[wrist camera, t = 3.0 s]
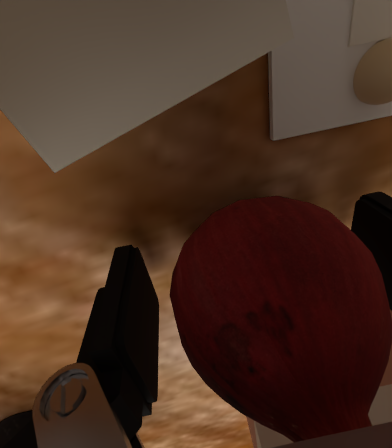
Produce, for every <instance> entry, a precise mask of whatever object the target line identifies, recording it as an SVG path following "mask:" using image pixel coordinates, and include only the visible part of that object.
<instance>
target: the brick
mask: <svg viewBox="0 0 392 448" xmlns="http://www.w3.org/2000/svg"><path fill="white" fill-rule="evenodd" d="M293 38H294V36H293V31H292V27H291V22H290V17H289V13H288V8H287V4H286V0H0V110H1V111H2V112H3V113H4V114H5V116H6V117H7V118H8V119H9V120H10V121H11V123H12V124H13V125H14V126H15V127H16V128H17V130H18V131H19V132H20V133H21V134H22V135H23V137H24V138H25V139H26V140H27V141H28V142H29V144H30V145H31V146H32V147H33V148H34V149H35V151H36V152H37V153H38V154H39V155H40V156H41V158H42V159H43V160H44V161H45V162H46V163H47V165H48V166H49V167H50V168H51V169H52V170H53V172H54V173H56V172H57V171H59V170H61V169H63V168H64V167H66V166H68V165H70V164H72V163H73V162H75V161H77V160H79V159H80V158H82V157H84V156H86V155H87V154H89V153H91V152H93V151H95V150H96V149H98V148H100V147H102V146H103V145H105V144H107V143H109V142H111V141H112V140H114V139H116V138H118V137H119V136H121V135H123V134H125V133H126V132H128V131H130V130H132V129H134V128H135V127H137V126H139V125H141V124H142V123H144V122H146V121H148V120H150V119H151V118H153V117H155V116H157V115H158V114H160V113H162V112H164V111H165V110H167V109H169V108H171V107H173V106H174V105H176V104H178V103H180V102H181V101H183V100H185V99H187V98H189V97H190V96H192V95H194V94H196V93H197V92H199V91H201V90H203V89H204V88H206V87H208V86H210V85H212V84H213V83H215V82H217V81H219V80H220V79H222V78H224V77H226V76H228V75H229V74H231V73H233V72H235V71H236V70H238V69H240V68H242V67H243V66H245V65H247V64H249V63H251V62H252V61H254V60H256V59H258V58H259V57H261V56H263V55H265V54H266V53H268V52H270V51H272V50H274V49H275V48H277V47H279V46H281V45H282V44H284V43H286V42H288V41H290V40H291V39H293Z"/></svg>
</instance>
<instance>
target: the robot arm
mask: <svg viewBox="0 0 392 448" xmlns="http://www.w3.org/2000/svg"><path fill="white" fill-rule="evenodd" d="M351 231H352V232H353V233H355V234H356V236H357V237H358V238H359V239H360V240H361V241H362V242H363V243H364V244H365V246H366V247H367V248H368V249H369V250H370V251H371V252H372V254H373V257H374V259H375V261H376V263H377V265H378V267H379V270H380V272H381V274H382V278H383V282H384V286H385V290H386V294H387V298H388V302H389V307H390V310H391V311H392V197H390V196H388V195H386V194H385V193H383V192H375V193H370V194H366V195H362V196H361V197H360V199H359V200H358V201H357V202H356V204H355V209H354V215H353V221H352V227H351ZM158 342H159V302H158V297H157V295H156V292H155V289H154V287H153V284H152V281H151V279H150V276H149V273H148V271H147V268H146V266H145V263H144V260H143V258H142V255H141V252H140V250H139V248H138V247H136V248H134V247H133V246H132V245H127V246H122V247H117V248H115V251H114V255H113V258H112V262H111V266H110V270H109V273H108V277H107V281H106V285H105V287H103V288H100V289H99V290H98V292H97V294H96V297H95V301H94V304H93V308H92V311H91V314H90V318H89V321H88V324H87V328H86V331H85V335H84V338H83V341H82V345H81V348H80V352H79V355H78V358H77V362H76V363H73V364H70V365H67V366H65V367H63V368H61V369H60V370H58V371H57V372H56V373H54V374H53V375H52V376H51V377H50V378H49V379H48V380H47V381H46V382H45V384H44V385H43V386H42V387H41V389H40V391H39V393H38V394H37V396H36V398H35V402H34V405H33V418H32V419H31V420H30V421H29V422H28V423H27V424H26V425H25V426H24V427H23V428H22V429H21V430H20V431H19V432H18V433H17V434H16V435H15V436H14V437H13V438H12V439H11V440H10V441H9V442H8V443H7V444H6V445H5V446H4V447H3V448H145V447H144V445H143V443H142V441H141V439H140V437H139V435H138V433H137V432H138V430H139V429H140V428H141V426H142V416H147V415H151V413H152V403H153V402H156V401H157V397H158ZM272 448H392V422H388V423H383V424H378V425H374V426H369V427H364V428H360V429H355V430H350V431H345V432H341V433H336V434H331V435H327V436H322V437H317V438H313V439H308V440H304V441H299V442H295V443H290V444H285V445H281V446H276V447H272Z"/></svg>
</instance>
